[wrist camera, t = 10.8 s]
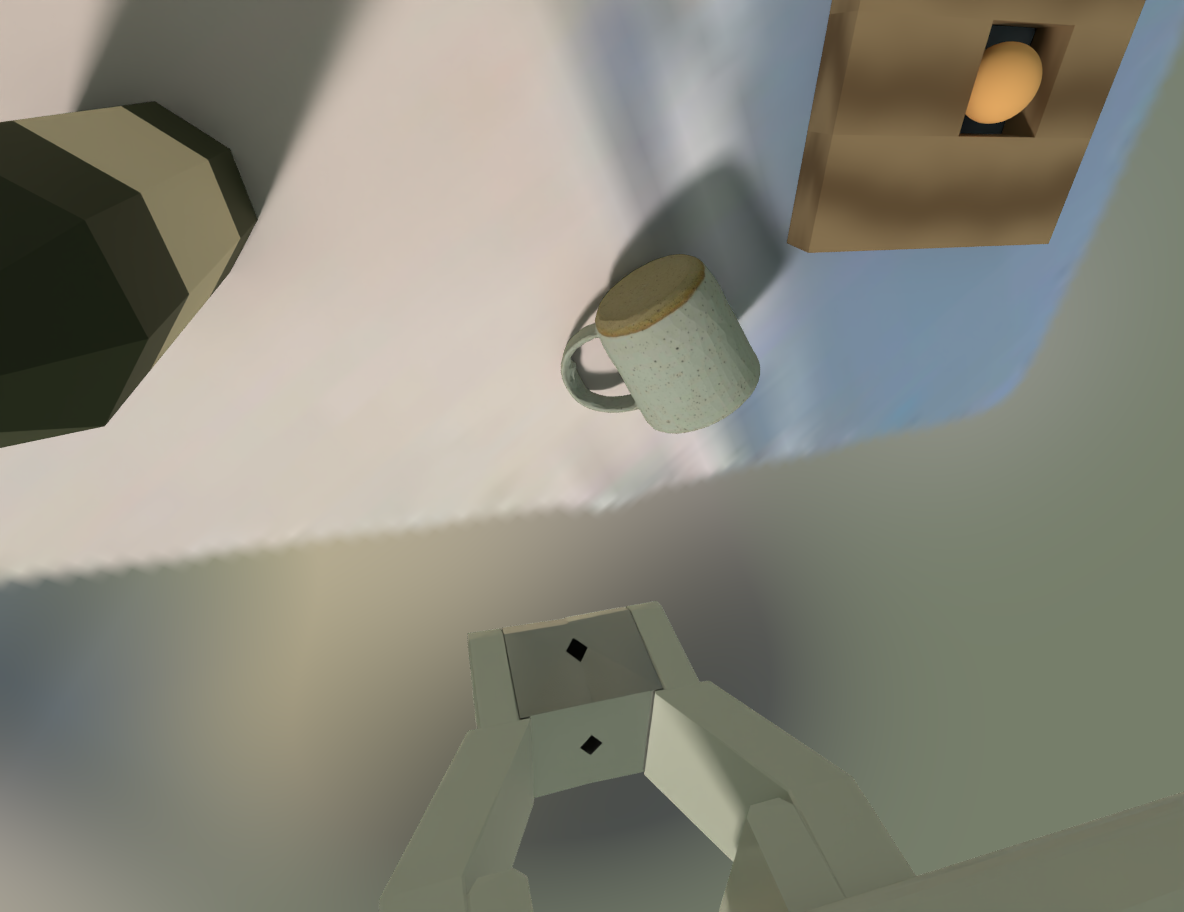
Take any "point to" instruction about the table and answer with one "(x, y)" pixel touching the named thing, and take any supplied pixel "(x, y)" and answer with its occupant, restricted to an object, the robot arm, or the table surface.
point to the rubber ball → (1004, 82)
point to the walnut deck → (948, 123)
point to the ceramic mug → (669, 347)
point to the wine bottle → (104, 256)
